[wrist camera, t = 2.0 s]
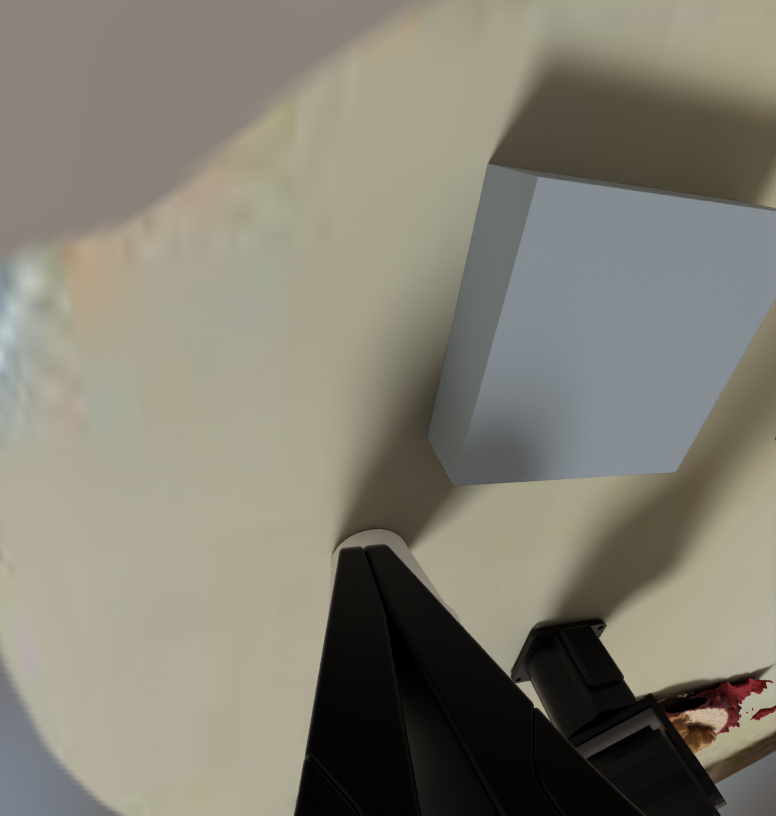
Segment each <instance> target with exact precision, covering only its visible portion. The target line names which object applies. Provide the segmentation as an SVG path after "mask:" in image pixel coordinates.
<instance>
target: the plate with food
mask: <svg viewBox="0 0 776 816" xmlns="http://www.w3.org/2000/svg"><path fill="white" fill-rule="evenodd" d="M766 682H771V683H773V682H772V681H770V680H759V679H758V680H757V681H755V680H752V679H751V678H749V680H748V681H745V683H742V684H739V685H733V686H731V684H730V683H728V682H727V681H726V682H725V683H721V682H720V683H719V684H720V686H718V688H716V687H715V690H714V689H711V690H707V691H706V690H705V691H702V692H701V693H698V694H697V695H693V696H690V697H689V699H693V698H697V697H698V698H707V702H706V703H705V704H703V705H701V706H700V707H698V708H695V709H691V710H688V711H683V712H681V713H675V714H671V713H667V712H665V711H664V707H661V708H662V710H663V711H664V712H665V714H666V715H667V717H668V718H669V720H670V721H671V722H672V724H673V725H674V727H675V728H676V729H677V731H678V732H679V734H680V735H681V737H682V738H683V739H684V741H685V742H686V744H687V745H688V746H689V748H690V749H691V751H692V752H693V754H695V753H696V752H697V751H699V750H701V749H702V748H704V747H708V746H710V744H711V743H712V741H715V740H716V736H717V734H719V733H721V732H722V733H724V732H729V729H728V727H730V726H732V727H735V726H737V727H739V726H740V725H739V723H738V722H737V721H738V720H739V718H740V717H741V715H739V712H740V709H742V707H740V706H739V705H738V703H740V704H742V700H745V697H747V696H749V695H751V694H750V693H751V692H755V693H757V694H761V692H763V688H764V689H767V686H766ZM692 694H693V693H692ZM692 694H691V695H692ZM679 695H680V696H678V695H677V697H682V695H681V694H679ZM687 695H688V694H687V693H683V698H685V697H686V696H687ZM664 699H665V697H664V698H663V699H659V700H656V701H657V703H658V702H659V701H663V700H664ZM775 710H776V706H774V707H772V708H765V709H760V710H759V711H758V712H757V713H756V714H755V715H754V716H753V717H752V719H755V720H760V718H762V717H764V716H766V715H768V714H770V713H773V712H774V711H775ZM752 711H753V708H752ZM746 713H748V712H746ZM752 719H750V720H752ZM658 728H659V729H662V730H663V731H664V729H663V727H662V726H660V727H658ZM656 729H657V728H656ZM654 730H655V729H654Z"/></svg>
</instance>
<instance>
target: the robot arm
mask: <svg viewBox="0 0 776 816" xmlns="http://www.w3.org/2000/svg"><path fill="white" fill-rule="evenodd" d="M605 628H606V624H605V622H604V621H603V620H602V619H598V620H592V621H586V622H580V623H574V624H568V625H562V626H556V627H550V628H544V629H538V630H535V631H533V632H532V633H531V635H530V637H529V639H528V641H527V643H526V645H525V647H524V649H523V651H522V653H521V656H520V658H519V660H518V662H517V664H516V666H515V668H514V670H513V672H512V674H511V678H510V677H509V676H508V675H507V674H506V673H505V672H504V671H503V670H502V669H501V668H500V667H499V665H498V664H497V663H496V662H495V661H494V660H493V659H492V658H491V657H490V656H489V655H488V654H487V652H486V651H485V650H484V649H483V648H482V647H481V646H480V645H479V644H478V643H477V642H476V640H475V639H474V638H473V637H472V636H471V635H470V634H469V633H468V632H467V631H466V630H465V629H464V627H463V626H462V625H461V624H460V623H459V622H458V621H457V620H456V619H455V618H454V617H453V616H452V614H451V613H450V612H449V611H448V610H447V609H446V608H445V607H444V606H443V605H442V604H441V603H440V601H439V600H438V599H437V598H436V597H435V596H434V595H433V594H432V593H431V592H430V591H429V589H428V588H427V587H426V586H425V585H424V584H423V583H422V582H421V581H420V580H419V579H418V578H417V576H416V575H415V574H414V573H413V572H412V571H411V570H410V569H409V568H408V567H407V566H406V565H405V563H404V562H403V561H402V560H401V559H400V558H399V557H398V556H397V555H396V554H395V553H394V551H393V550H392V549H391V548H390V547H389V546H387V545H385V544H376V545H367V546H365V547H364V548H362V547H361V546H356V547H346V548H341V549H340V551H339V556H338V562H337V568H336V574H335V580H334V586H333V592H332V598H331V604H330V610H329V616H328V621H327V627H326V633H325V639H324V645H323V651H322V657H321V663H320V669H319V675H318V681H317V687H316V693H315V699H314V705H313V711H312V717H311V722H310V728H309V734H308V740H307V746H306V752H305V760H304V762H303V768H302V774H301V780H300V786H299V792H298V797H297V802H296V807H295V812H294V816H721V815H720V814H719V812H718V811H717V809H719V808H720V807H722V806H724V805H726V804H727V803H726V802H725V800H724V798H723V797H722V795H721V794H720V792H719V791H718V789H717V787H716V786H715V784H714V783H713V781H712V780H711V778H710V777H709V775H708V774H707V772H706V771H705V770H704V768H703V767H702V765H701V764H700V762H699V761H698V759H697V758H696V756H695V755H694V754H693V752H692V751H691V749H690V748H689V746H688V745H687V744H686V742H685V741H684V739H683V738H682V737H681V735H680V734H679V732H678V731H677V729H676V728H675V727H674V725H673V724H672V722H671V721H670V720H669V718H668V717H667V715H666V714H665V712H664V711H663V710H662V708H661V707H660V705H659V704H658V703H657V701H656V700H655V698H654V697H653V696H652V694H651V693H649V694H647V695H646V696H644V698H643V699H642V700H640V701H637V699H636V698H635V696H634V694H633V693H632V691H631V690H630V688H629V687H628V685H627V684H626V682H625V681H624V676H623V674H622V672H621V671H620V669H619V668H618V666H617V665H616V663H615V662H614V660H613V659H612V657H611V656H610V654H609V653H608V651H607V650H606V648H605V647H604V645H603V644H602V642H601V641H600V639H599V637H600V636H601V634H602V633H603V631H604V629H605ZM511 679H512V680H511ZM525 681H531V683H532V685H533V687H534V689H535V691H536V693H537V695H538V697H539V699H540V701H541V703H542V705H543V707H544V709H545V711H546V713H547V715H548V717H549V719H550V721H551V722H550V721H549V720H548V718H547V717H546V716H545V715H544V714H543V713H542V712H541V711H540V710H539V709H538V708H534V704H533V702H532V701H531V700H530V699H529V698H528V697H527V696H526V695H525V694H524V693H523V692H522V690H521V689H520V688H519V687H518V686H517V685H516V684H515V683H520V682H525ZM660 726H662V727H663V729H664V731H663V730H662V729H659V728H658V727H660ZM656 728H657V729H656ZM654 729H655V730H654Z"/></svg>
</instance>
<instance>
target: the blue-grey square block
mask: <svg viewBox="0 0 776 816" xmlns="http://www.w3.org/2000/svg"><path fill="white" fill-rule="evenodd" d="M775 299H776V208H771V207H766V206H761V205H756V204H751V203H746V202H742V201H736V200H729V199H723V198H716V197H709V196H702V195H696V194H689V193H682V192H675V191H669V190H662V189H655V188H649V187H642V186H635V185H628V184H622V183H615V182H608V181H602V180H595V179H588V178H581V177H575V176H568V175H561V174H554V173H548V172H541V171H534V170H528V169H521V168H514V167H507V166H501V165H494V164H488V165H487V169H486V174H485V179H484V183H483V188H482V192H481V197H480V201H479V206H478V210H477V215H476V219H475V224H474V228H473V233H472V237H471V242H470V246H469V251H468V255H467V260H466V265H465V269H464V274H463V278H462V283H461V287H460V292H459V296H458V301H457V305H456V310H455V314H454V319H453V323H452V328H451V332H450V337H449V342H448V346H447V351H446V355H445V360H444V364H443V369H442V373H441V378H440V382H439V387H438V391H437V396H436V400H435V405H434V409H433V414H432V418H431V423H430V428H429V432H428V437H427V438H428V440H429V441H430V443H431V445H432V447H433V449H434V451H435V453H436V454H437V456H438V458H439V460H440V462H441V464H442V466H443V467H444V469H445V471H446V473H447V475H448V477H449V479H450V480H451V482H452V484H453V486H462V485H478V484H494V483H510V482H526V481H542V480H558V479H574V478H590V477H606V476H622V475H638V474H654V473H670V472H676V471H677V469H678V467H679V465H680V464H681V462H682V460H683V459H684V457H685V455H686V453H687V452H688V450H689V448H690V446H691V445H692V443H693V441H694V439H695V438H696V436H697V434H698V432H699V431H700V429H701V427H702V426H703V424H704V422H705V420H706V419H707V417H708V415H709V413H710V412H711V410H712V408H713V406H714V405H715V403H716V401H717V399H718V398H719V396H720V394H721V393H722V391H723V389H724V387H725V386H726V384H727V382H728V380H729V379H730V377H731V375H732V373H733V372H734V370H735V368H736V366H737V365H738V363H739V361H740V360H741V358H742V356H743V354H744V353H745V351H746V349H747V347H748V346H749V344H750V342H751V340H752V339H753V337H754V335H755V333H756V332H757V330H758V328H759V327H760V325H761V323H762V321H763V320H764V318H765V316H766V314H767V313H768V311H769V309H770V307H771V306H772V304H773V302H774V300H775Z"/></svg>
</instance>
